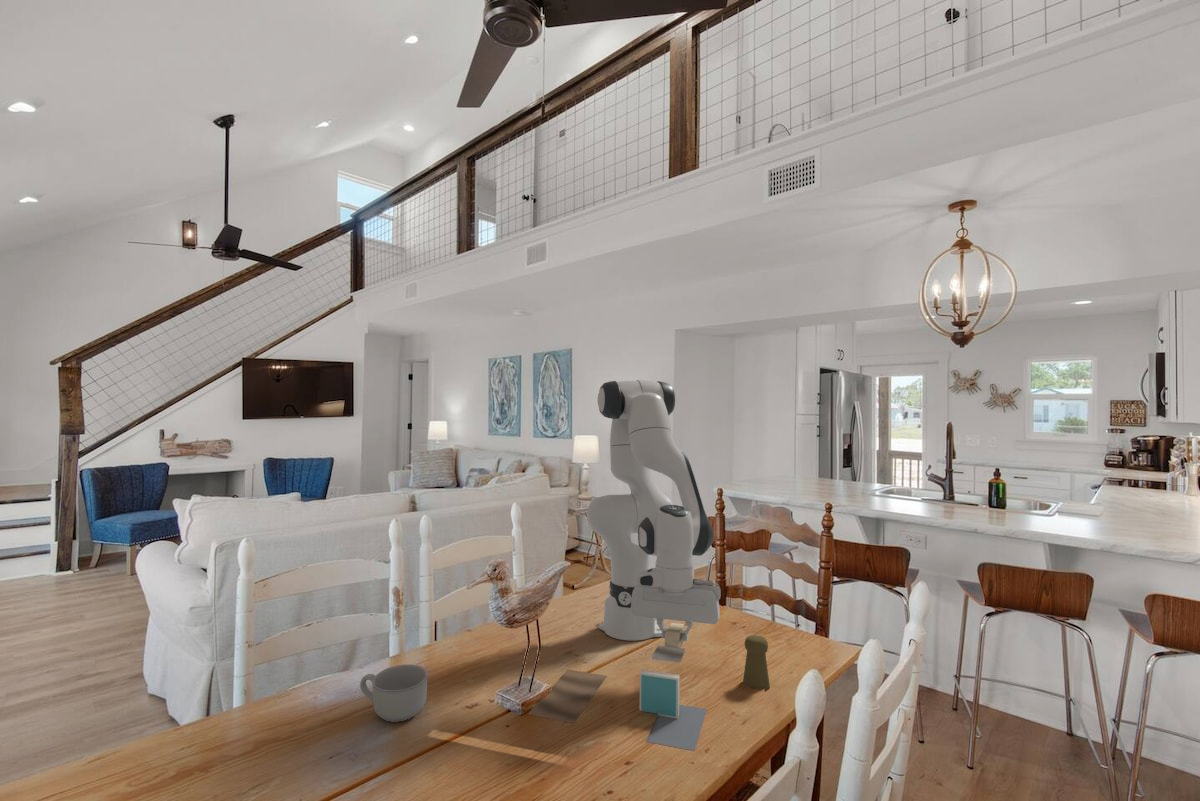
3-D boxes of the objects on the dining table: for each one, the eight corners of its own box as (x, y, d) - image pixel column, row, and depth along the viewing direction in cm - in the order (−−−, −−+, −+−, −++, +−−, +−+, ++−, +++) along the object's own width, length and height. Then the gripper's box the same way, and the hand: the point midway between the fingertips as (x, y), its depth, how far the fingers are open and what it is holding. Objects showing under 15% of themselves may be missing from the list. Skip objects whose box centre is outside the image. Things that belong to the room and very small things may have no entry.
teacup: (437, 707, 123) (438, 668, 123) (404, 733, 113) (405, 691, 113) (383, 695, 128) (383, 658, 128) (346, 720, 117) (347, 680, 118)
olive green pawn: (770, 692, 131) (771, 643, 131) (743, 690, 132) (743, 640, 132) (768, 680, 137) (768, 633, 137) (742, 678, 138) (742, 631, 138)
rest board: (567, 673, 139) (567, 669, 139) (607, 680, 136) (607, 675, 136) (527, 719, 118) (527, 714, 118) (573, 728, 115) (573, 722, 115)
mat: (623, 698, 128) (623, 695, 128) (706, 712, 122) (706, 709, 122) (600, 736, 112) (600, 733, 112) (694, 754, 107) (694, 750, 107)
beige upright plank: (665, 637, 138) (665, 622, 139) (690, 640, 137) (690, 624, 137) (652, 659, 125) (652, 642, 125) (679, 662, 123) (679, 645, 124)
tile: (641, 708, 122) (641, 669, 122) (679, 714, 120) (679, 675, 120) (639, 712, 120) (639, 673, 121) (677, 719, 118) (678, 678, 118)
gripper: (722, 577, 134) (722, 639, 134) (635, 570, 141) (635, 629, 140) (718, 584, 128) (719, 649, 128) (628, 577, 135) (628, 638, 134)
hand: (674, 638), depth 134 cm, fingers closed on beige upright plank, 3 cm apart
